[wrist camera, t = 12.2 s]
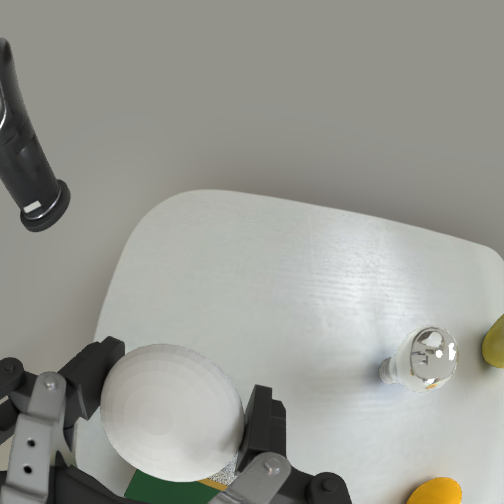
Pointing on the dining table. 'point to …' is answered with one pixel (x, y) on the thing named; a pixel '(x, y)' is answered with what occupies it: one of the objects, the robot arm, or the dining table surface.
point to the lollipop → (172, 413)
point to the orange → (437, 492)
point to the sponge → (171, 490)
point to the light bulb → (422, 360)
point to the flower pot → (494, 344)
